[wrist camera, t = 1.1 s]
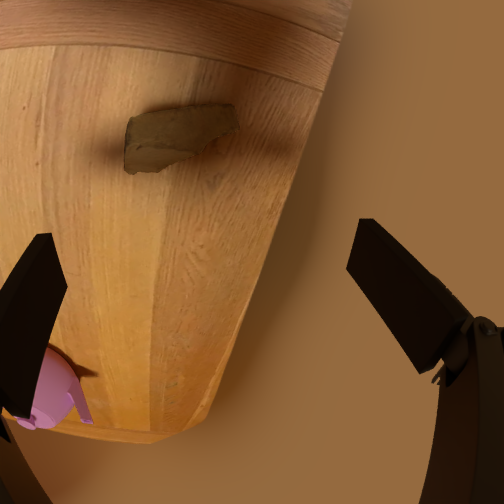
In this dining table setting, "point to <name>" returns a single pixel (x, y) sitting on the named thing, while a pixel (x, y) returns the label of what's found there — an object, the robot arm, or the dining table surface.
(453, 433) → the robot arm
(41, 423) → the teapot
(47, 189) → the dining table surface
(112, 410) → the dining table surface
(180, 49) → the dining table surface
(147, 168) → the rock
